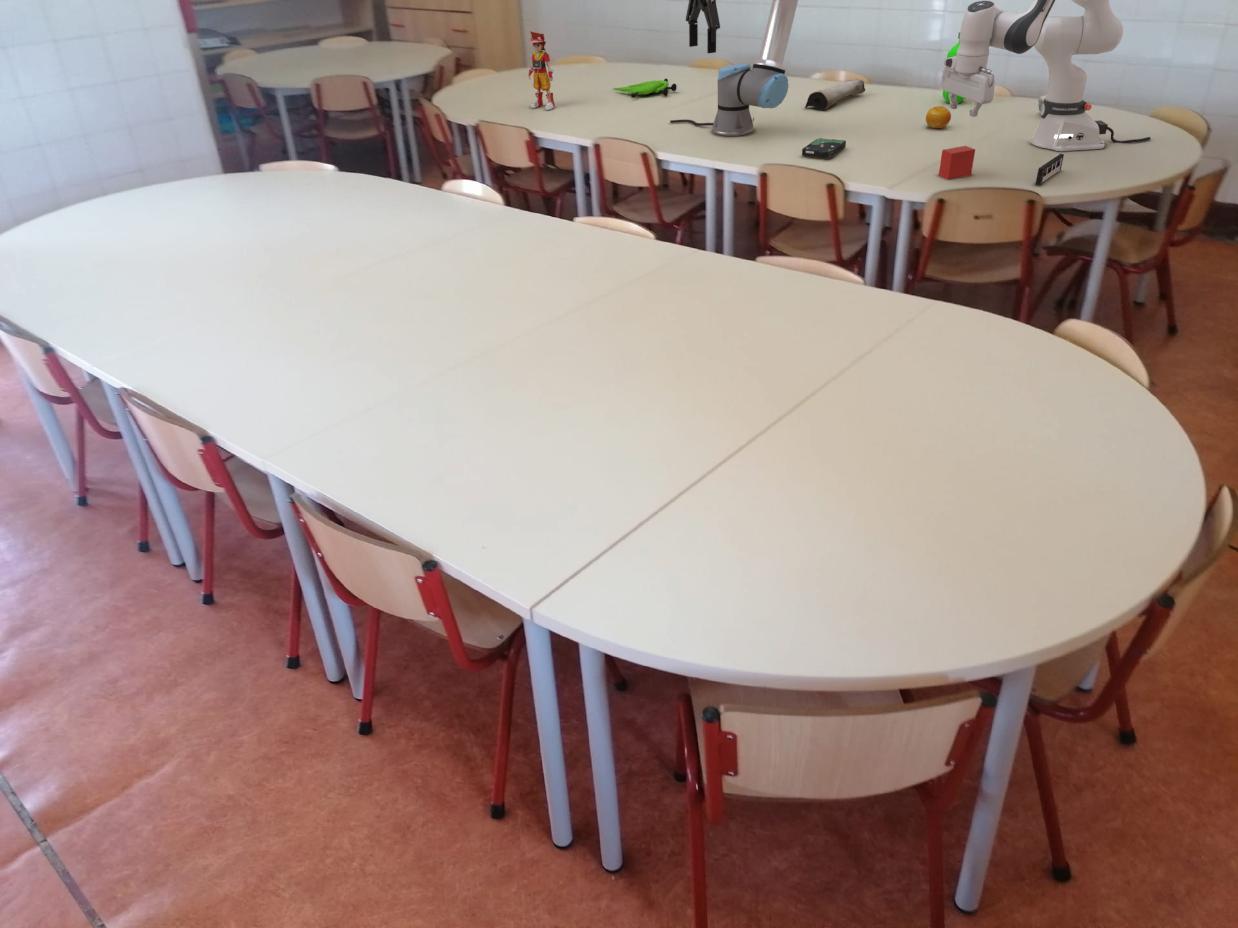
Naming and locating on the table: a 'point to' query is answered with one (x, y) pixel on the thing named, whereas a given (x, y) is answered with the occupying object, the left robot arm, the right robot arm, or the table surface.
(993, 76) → the right robot arm
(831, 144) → the disk drive
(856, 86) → the rolled mat
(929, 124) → the fruit
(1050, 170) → the midi keyboard
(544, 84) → the toy
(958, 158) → the block
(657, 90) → the toy
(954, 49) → the plastic bottle
